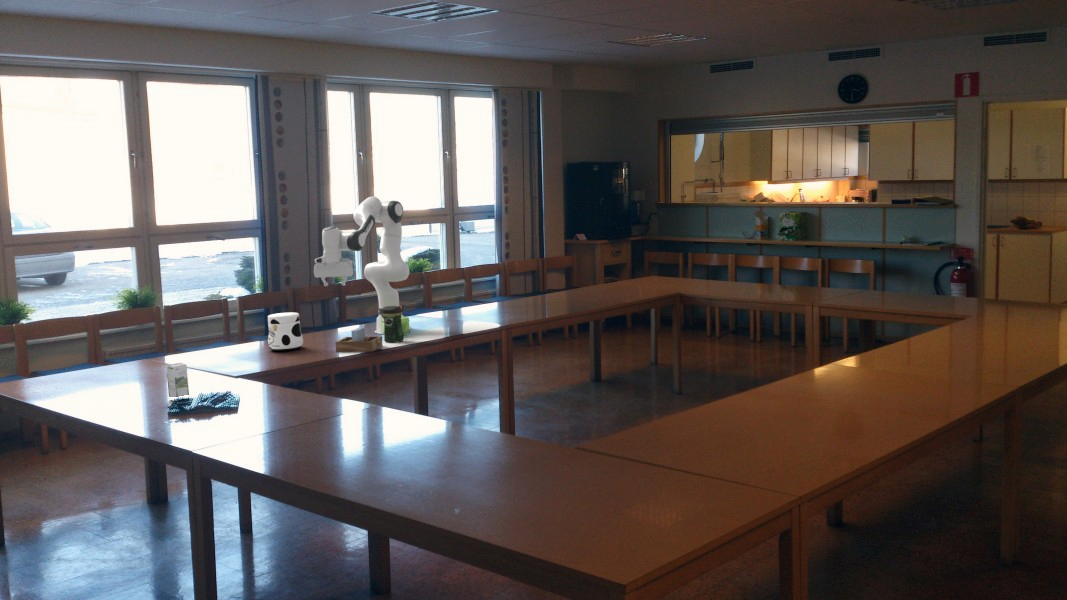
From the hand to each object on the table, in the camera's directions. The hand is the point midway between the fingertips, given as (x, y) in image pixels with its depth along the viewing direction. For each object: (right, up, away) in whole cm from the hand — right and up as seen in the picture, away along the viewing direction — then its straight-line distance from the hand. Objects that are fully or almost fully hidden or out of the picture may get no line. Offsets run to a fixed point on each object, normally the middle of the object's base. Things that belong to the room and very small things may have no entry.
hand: (334, 285), depth 483 cm
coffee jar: (+29, -29, +8) cm, 42 cm away
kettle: (+27, -27, +25) cm, 46 cm away
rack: (+14, -32, -9) cm, 36 cm away
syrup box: (-40, -47, -103) cm, 121 cm away
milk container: (-25, -33, +1) cm, 41 cm away
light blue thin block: (+14, -31, -9) cm, 35 cm away
